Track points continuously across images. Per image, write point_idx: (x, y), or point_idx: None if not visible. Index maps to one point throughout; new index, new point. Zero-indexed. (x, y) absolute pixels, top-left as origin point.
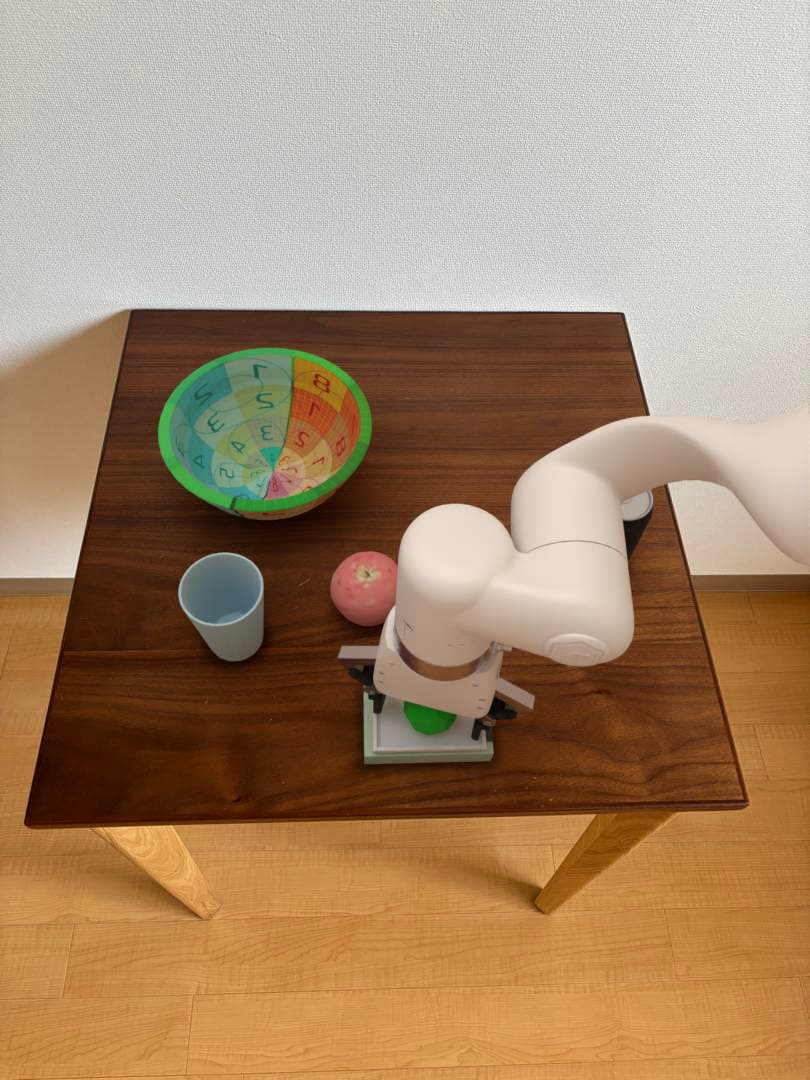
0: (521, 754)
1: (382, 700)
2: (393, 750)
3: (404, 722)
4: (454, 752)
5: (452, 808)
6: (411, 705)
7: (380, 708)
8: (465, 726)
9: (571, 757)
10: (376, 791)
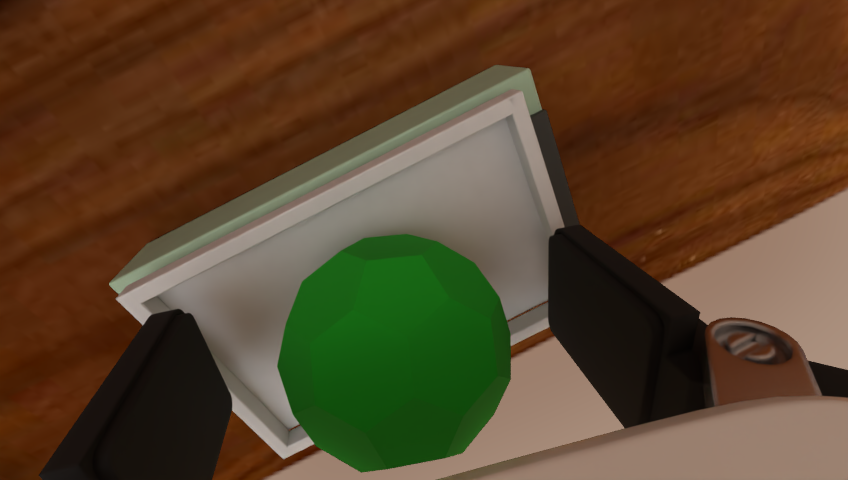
0: (625, 196)
1: (200, 471)
2: None
3: None
4: None
5: None
6: (332, 453)
7: (217, 453)
8: (506, 263)
9: (743, 147)
10: None
